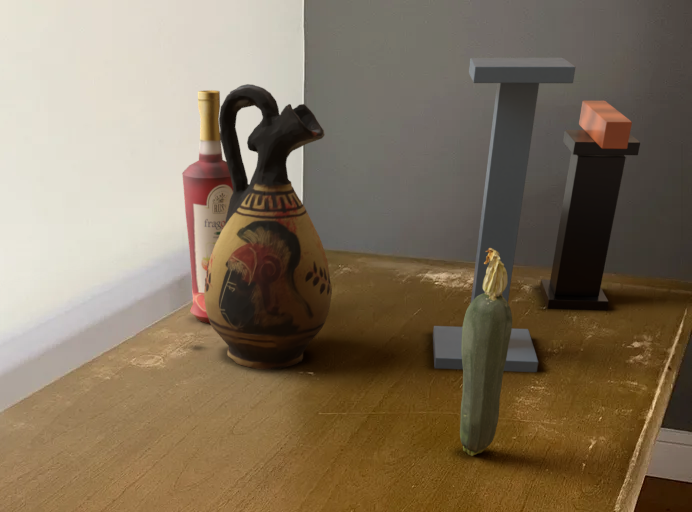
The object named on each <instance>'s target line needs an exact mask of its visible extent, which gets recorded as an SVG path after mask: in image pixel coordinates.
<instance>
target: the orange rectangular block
mask: <svg viewBox="0 0 692 512" xmlns="http://www.w3.org/2000/svg"><path fill="white" fill-rule="evenodd" d="M578 125H579V126H580V127H581V128H582V130H585V131H586V132H587V133H588V134H589V136H590V137H591V138H592V139H593V140H594V141H595V142H596V143H597V144H598V145H599V146H600V147H601V148H602V149H627V146H628V141H629V136H630V134H631V130H632V125H633V122H632V121H631V120H630V118H628V117H626V116H625V115H624V114H623V113H621V112H620V111H619V110H617V108H615V107H614V106H612V105H611V104H610V103H609V102H607V101H606V100H582V102H581V108H580V115H579V120H578Z"/></svg>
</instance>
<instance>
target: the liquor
mask: <svg viewBox="0 0 692 512" xmlns="http://www.w3.org/2000/svg"><path fill="white" fill-rule="evenodd" d="M220 93H221V92H220V90H213V89H211V90H210V89H209V90H198V91H197V106H198V107H197V108H198V112H199V113H198V114H199V117H200V127H199V129H200V131H199V149H198V160H196V161H195V162H193V163H191V164H189V165H188V166H187V167H186V168H185V169H184V171H182V173H181V175H182V186H183V196H184V211H185V220H186V221H185V222H186V230H187V239H188V240H187V241H188V249H189V250H188V251H189V264H190V277H191V291H192V305H191V308H190V310H189V312H190V313H191V314H192V315H193V316H194V317H195V318H196V319H197V320H199V321H200V322H202V323H205V324H210V321H209V318H208V316H207V313H206V306H205V299H204V290H205V278H206V272H207V265H208V262H209V261H210V257H211V254H212V252H213V248H214V246H215V244H216V242H217V240H218V238H219V236H220V233H221V231H222V230H223V228H224V227H225V221H226V216H227V212H228V207H229V203H230V198H231V196H232V194H233V186H232V181H231V176H230V173H229V169H228V166H227V162H226V160H224V159H223V148H222V143H221V139H220V125H219V116H220V109H221V94H220Z"/></svg>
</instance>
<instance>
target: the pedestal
mask: <svg viewBox="0 0 692 512" xmlns="http://www.w3.org/2000/svg"><path fill="white" fill-rule="evenodd" d="M563 133H564V134H563V139H562V142H563V144H565V146H566V147H567V149H568V150H569V151H570V157H569V164H568V172H567V177H566V182H565V187H564V196H563V200H562V207H561V212H560V219H559V223H558V224H559V225H558V231H557V237H556V243H555V249H554V256H553V260H552V261H553V262H552V267H551V273H550V279H543V278H542V279H540V282H539V283H540V285H539V290H540V293H541V296H542V298H543V301H544V304H545V307H546V309H548V310H570V311H572V310H573V311H603V312H604V311H605V312H607V311H608V306H609V300H608V298H607V296H606V294H605V292H604V291H603V289H602V282H603V276H604V272H605V266H606V261H607V256H608V251H609V246H610V240H611V237H612V230H613V225H614V220H615V216H616V210H617V204H618V198H619V196H620V195H619V194H620V189H621V184H622V180H623V174H624V170H625V165H626V164H625V163H626V158H627V157H626V156H638V155H639V153H640V152H639V151H640V146H641V142H640V141H639V140H638V139H637V138H635V137H634V136H633V135H632V134H631V133H630V136H629V141H628V146H627V149H602V148H601V147H600V146H599V145H598V144H597V143H596V142H595V141H594V140H593V139H592V138H591V137H590V136H589V134H588V133H587V132H586V131H585V130H584V129H565V130H564V132H563Z"/></svg>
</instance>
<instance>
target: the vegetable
mask: <svg viewBox="0 0 692 512" xmlns="http://www.w3.org/2000/svg"><path fill="white" fill-rule="evenodd" d="M485 252H489V253H488V256H487V257H486V262H485V263H484V264H487V263H488V262H489V261H490V263H489V265H488V268H487V270H486V275H485V278H484V281H483V290H484V292H485V293H483V294H481V295H479V296H477V297H476V298H475V299H474V300H473V301H472V302H471V301H470V304H469V305H468V306H467V309H466V311H465V314H464V318H463V321H462V326H461V327H462V349H461V353H462V364H463V369H462V372H463V373H462V395H461V403H460V422H459V423H460V425H459V438H460V443H461V445H462V450H463V452H464V453H467V455H469V456H470V457H474V456H475V455H477V454H482V453H483V452H484V451H485V450H486V449H487V448H488V447H489V446H490V445H491V444H492V442H493V440H494V438H495V435H496V431H497V427H498V423H499V417H500V404H501V403H500V402H501V401H500V400H501V391H502V383H503V376H504V372H505V371H504V366H505V362H506V358H507V352H508V345H509V341H510V336H511V330H512V329H513V314H512V309H511V307H510V304H509V301H508V302H507V301H506V300H505V299H504V298H503V296H502V292H503V291H504V290H505V288H506V286H507V272H506V269H505V268H504V264H503V263H502V262H501V261H500V257H499V255H500V254H499V253H498V252H497V251H496V250H494V249H492V248H489V249H488V251H485ZM489 258H490V260H489Z"/></svg>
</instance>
